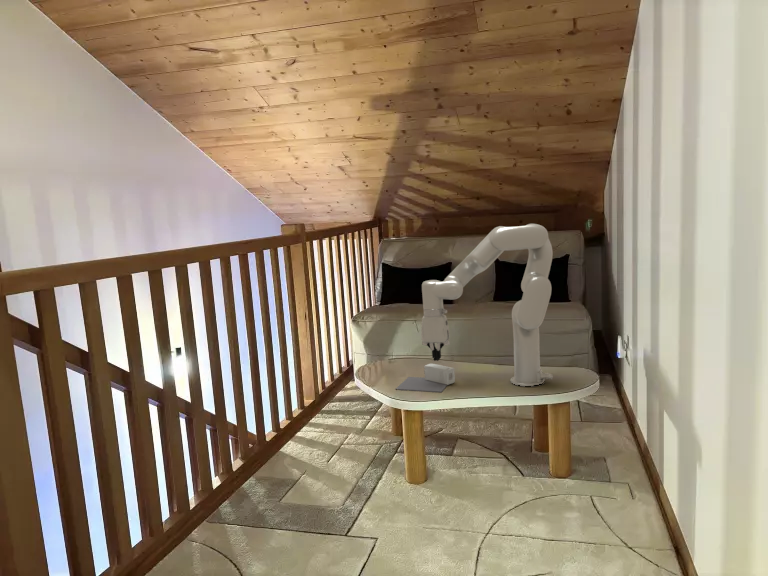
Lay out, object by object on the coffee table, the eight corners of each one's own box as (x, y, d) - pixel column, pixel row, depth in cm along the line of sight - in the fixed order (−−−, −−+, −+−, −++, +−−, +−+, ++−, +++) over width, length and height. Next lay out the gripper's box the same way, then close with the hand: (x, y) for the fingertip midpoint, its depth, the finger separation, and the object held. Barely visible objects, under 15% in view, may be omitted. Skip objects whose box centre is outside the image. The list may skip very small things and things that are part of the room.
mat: (451, 379, 229) (451, 378, 229) (441, 392, 214) (441, 391, 214) (408, 377, 235) (408, 376, 235) (395, 389, 220) (395, 388, 220)
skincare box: (454, 367, 223) (431, 362, 232) (447, 370, 220) (423, 364, 229) (455, 383, 224) (431, 377, 233) (447, 385, 221) (424, 379, 230)
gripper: (455, 310, 220) (458, 357, 222) (417, 311, 225) (421, 357, 228) (450, 314, 213) (453, 362, 215) (411, 315, 218) (415, 362, 221)
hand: (436, 359), depth 222 cm, fingers closed
